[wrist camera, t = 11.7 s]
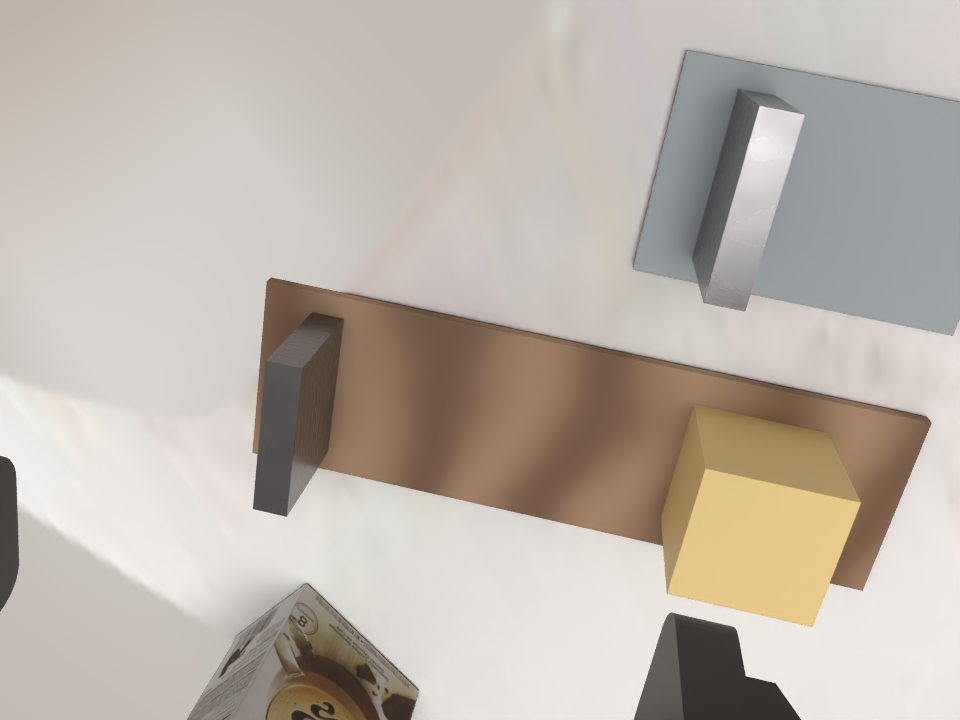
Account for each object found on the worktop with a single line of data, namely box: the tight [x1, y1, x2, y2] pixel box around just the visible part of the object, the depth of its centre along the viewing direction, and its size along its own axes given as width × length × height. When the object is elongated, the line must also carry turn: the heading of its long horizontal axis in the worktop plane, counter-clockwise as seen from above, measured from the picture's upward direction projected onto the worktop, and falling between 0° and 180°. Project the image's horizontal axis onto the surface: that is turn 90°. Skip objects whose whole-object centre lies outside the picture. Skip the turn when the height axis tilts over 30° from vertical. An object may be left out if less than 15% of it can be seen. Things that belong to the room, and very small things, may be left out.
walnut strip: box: [253, 278, 931, 591], centre depth 40 cm, size 30×9×7 cm, turn 80°
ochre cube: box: [661, 405, 861, 627], centre depth 39 cm, size 6×6×6 cm
